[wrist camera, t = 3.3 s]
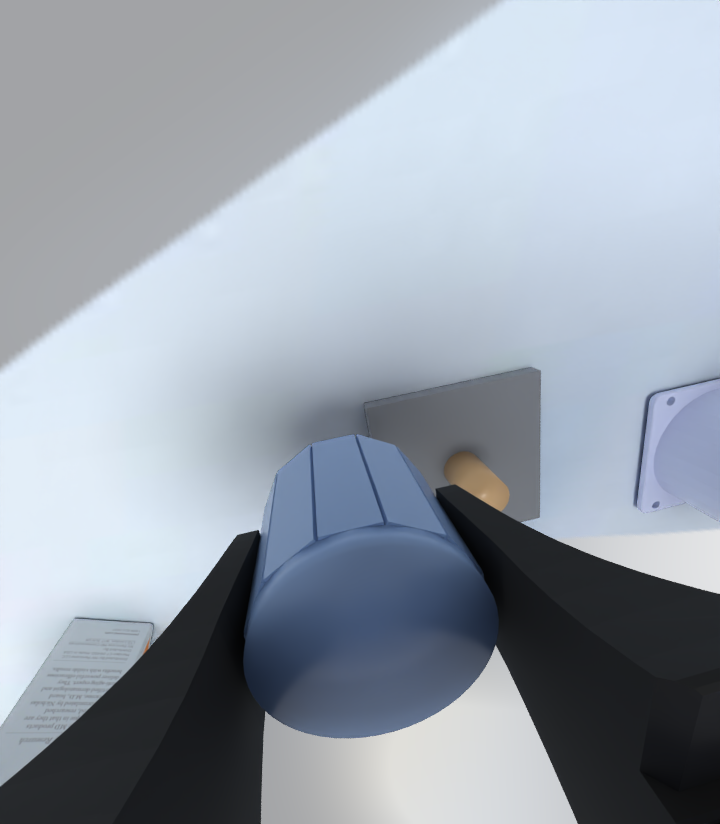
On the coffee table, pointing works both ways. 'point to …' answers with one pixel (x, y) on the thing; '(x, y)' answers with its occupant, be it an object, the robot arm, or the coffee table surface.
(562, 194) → the coffee table surface
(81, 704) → the skincare box
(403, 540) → the cap
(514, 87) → the coffee table surface
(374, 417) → the plate
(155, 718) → the robot arm
